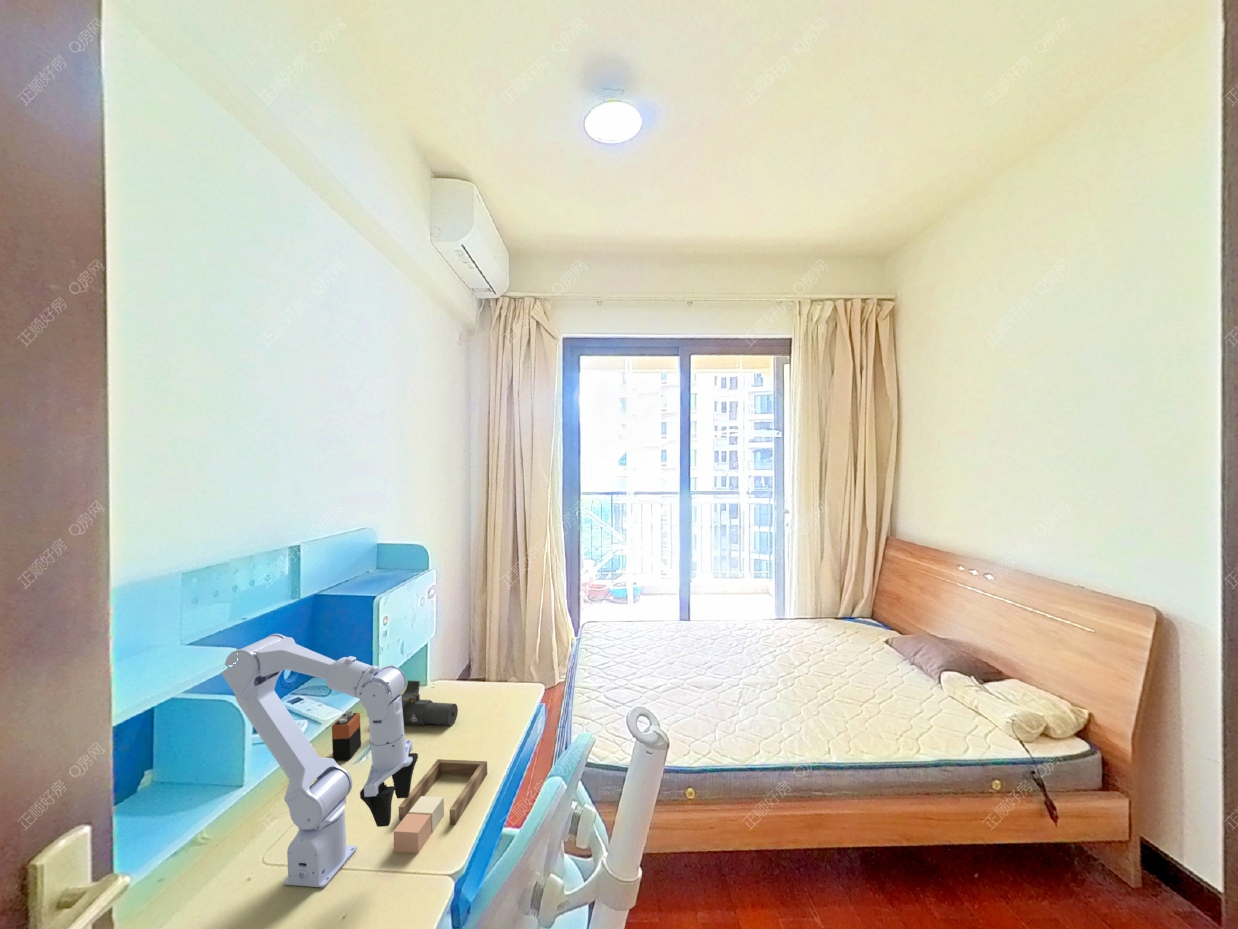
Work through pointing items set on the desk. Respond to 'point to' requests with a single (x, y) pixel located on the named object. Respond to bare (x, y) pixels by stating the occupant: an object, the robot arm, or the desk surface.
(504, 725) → the desk surface
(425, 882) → the desk surface
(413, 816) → the pink cube-like block
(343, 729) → the battery
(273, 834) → the desk surface
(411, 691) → the laser sight
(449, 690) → the desk surface
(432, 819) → the tile far
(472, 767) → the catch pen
